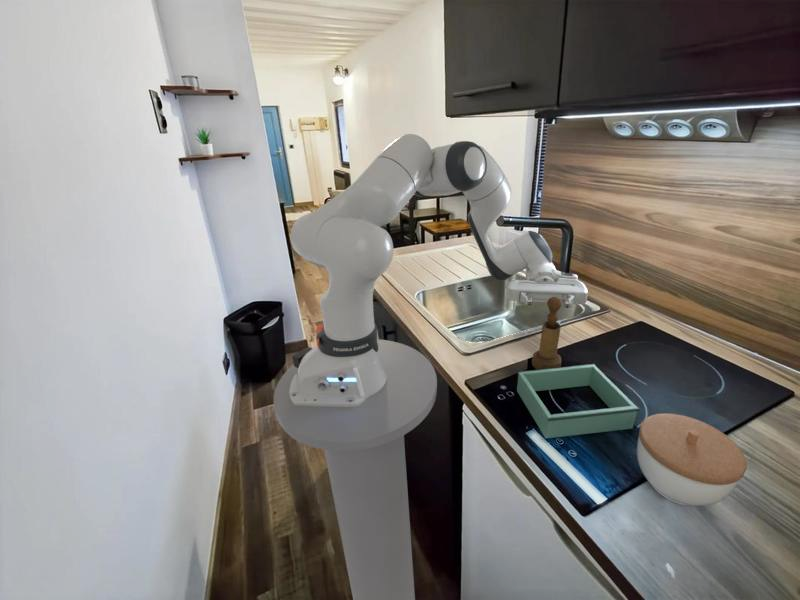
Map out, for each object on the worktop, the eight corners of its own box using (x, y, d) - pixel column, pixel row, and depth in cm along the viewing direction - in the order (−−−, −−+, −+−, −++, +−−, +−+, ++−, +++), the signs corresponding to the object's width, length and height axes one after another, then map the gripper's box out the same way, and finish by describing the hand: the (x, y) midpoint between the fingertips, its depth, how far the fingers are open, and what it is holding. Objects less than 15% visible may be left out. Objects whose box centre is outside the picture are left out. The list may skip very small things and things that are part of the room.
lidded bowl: (642, 441, 66) (657, 392, 61) (733, 484, 57) (758, 431, 52) (616, 485, 58) (631, 433, 54) (716, 542, 50) (744, 486, 45)
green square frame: (545, 439, 67) (548, 418, 65) (515, 390, 80) (517, 371, 78) (633, 429, 68) (639, 408, 66) (590, 382, 81) (594, 363, 79)
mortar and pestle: (553, 376, 84) (564, 306, 77) (527, 366, 88) (534, 299, 81) (564, 363, 88) (575, 296, 81) (538, 354, 92) (546, 289, 85)
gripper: (506, 272, 105) (506, 291, 93) (583, 274, 100) (593, 295, 88) (504, 292, 108) (504, 313, 96) (579, 295, 103) (589, 318, 91)
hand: (548, 304), depth 92 cm, fingers open, 8 cm apart
